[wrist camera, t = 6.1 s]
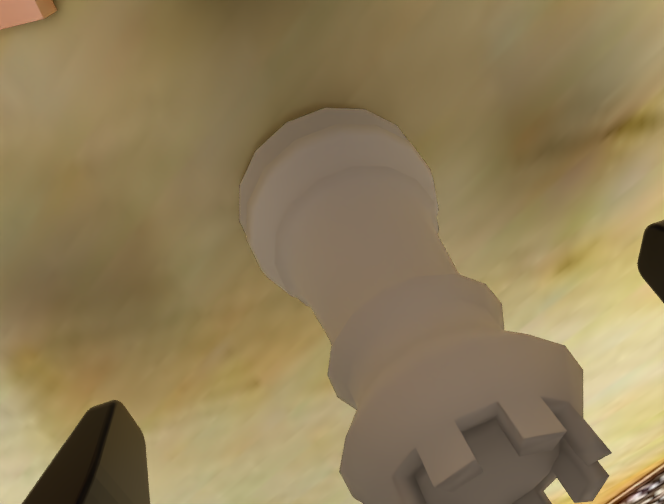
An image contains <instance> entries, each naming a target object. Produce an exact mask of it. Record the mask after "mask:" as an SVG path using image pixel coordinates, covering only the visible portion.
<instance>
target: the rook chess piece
mask: <svg viewBox="0 0 664 504" xmlns="http://www.w3.org/2000/svg"><path fill="white" fill-rule="evenodd" d="M438 210H439V208H438V202H437V197H436V191H435V186H434V180H433V176H432V173H431V170H430V168H429V166H428V165H427V164H426V162H425V161H424V160H423V158H422V157H421V156H420V154H419V153H418V152H417V150H416V149H415V148H414V146H413V145H412V144H411V142H410V141H408V139H407V138H406V137H405V135H404V134H403V133H402V131H401V130H400V129H399V127H398V126H397V125H395V124H393V123H391V122H389V121H387V120H385V119H383V118H381V117H379V116H377V115H375V114H373V113H371V112H369V111H367V110H365V109H348V108H323V109H320V110H318V111H315V112H312V113H310V114H307V115H305V116H302V117H299V118H297V119H294V120H291V121H289V122H286V123H285V124H284V125H283V126H282V127H281V128H280V129H278V130H277V131H276V132H275V133H274V134H273V135H272V136H271V137H270V138H269V139H268V140H267V141H266V142H264V143H263V144H262V145H261V146H260V147H259V148H258V149H257V150H256V151H255V153H254V155H253V157H252V160H251V162H250V164H249V166H248V168H247V171H246V173H245V175H244V177H243V179H242V181H241V184H240V186H239V221H240V224H241V226H242V228H243V230H244V232H245V234H246V236H247V242H248V244H249V246H250V248H251V250H252V253H253V255H254V257H255V259H256V261H257V263H258V265H259V267H260V269H261V270H262V272H263V273H264V274H265V275H266V276H267V277H268V278H269V279H270V280H272V281H273V282H274V283H275V284H277V285H278V286H279V287H280V288H282V289H283V290H284V291H285V292H287V293H288V294H289V295H291V296H292V297H296V298H298V299H299V300H300V301H301V302H303V303H304V304H305V305H306V306H309V307H311V309H312V311H313V312H314V314H315V316H316V317H317V319H318V321H319V323H320V324H321V326H322V328H323V329H324V331H325V333H326V334H327V336H328V338H329V340H330V342H331V345H332V346H331V353H330V360H329V368H328V377H329V379H330V381H331V384H332V386H333V388H334V390H335V392H336V395H337V397H338V398H340V399H341V400H343V401H344V402H346V403H347V404H349V405H350V406H352V407H353V408H355V409H356V410H357V411H356V413H355V416H354V418H353V421H352V423H351V425H350V428H349V430H348V433H347V435H346V438H345V443H344V449H343V455H342V460H341V466H340V471H339V472H340V474H341V475H342V477H343V479H344V481H345V483H346V485H347V487H348V489H349V491H350V492H351V494H352V496H353V497H354V498H355V499H357V500H359V501H360V502H362V503H363V504H551V502H550V501H549V499H548V497H547V496H546V494H545V493H544V490H545V489H546V488H547V487H548V486H549V485H550V484H551V483H552V482H553V481H554V480H555V479H556V478H558V480H559V481H560V483H561V484H562V486H563V487H564V488H565V490H566V491H567V493H568V494H569V496H570V497H571V499H572V500H573V501H574V503H578V502H589V501H593V500H594V498H595V497H596V495H597V494H598V492H599V491H600V489H601V488H602V486H603V485H604V483H605V482H606V480H607V478H608V477H609V475H608V474H607V472H606V471H605V470H604V469H603V467H602V466H601V465H600V464H599V462H598V460H600V459H602V458H603V457H605V456H607V455H609V454H611V451H610V450H609V449H608V448H607V447H606V445H605V444H604V443H603V442H602V440H601V439H600V438H599V437H598V436H597V434H596V433H595V432H594V431H593V430H592V428H591V427H590V426H589V425H588V424H587V422H586V421H585V420H584V419H583V369H582V368H581V366H580V365H579V364H578V362H577V361H576V360H575V358H574V357H573V356H572V354H571V353H570V352H569V350H568V349H567V348H566V346H564V345H561V344H558V343H554V342H551V341H548V340H545V339H541V338H538V337H535V336H531V335H528V334H522V333H516V332H510V331H504V321H503V312H502V304H501V302H500V301H499V300H498V299H497V297H496V296H495V295H494V294H493V293H492V291H491V290H490V289H489V288H488V286H487V285H486V284H484V283H481V282H478V281H476V280H473V279H470V278H467V277H464V276H461V275H460V274H459V273H458V271H457V269H456V268H455V266H454V264H453V262H452V260H451V258H450V257H449V255H448V253H447V251H446V249H445V247H444V245H443V244H442V242H441V240H440V238H439V236H438V230H439V226H438V221H437V215H438Z"/></svg>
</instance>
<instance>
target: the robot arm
mask: <svg viewBox="0 0 664 504" xmlns="http://www.w3.org/2000/svg"><path fill="white" fill-rule="evenodd" d="M637 264H638V270H639V272H640V274H641V276H642V277H643V279H644V280H645V281H646V282H647V284H648V285H649V286H650V287H651V288H652V290H653V291H654V292H655V293H656V294H657V296H658V297H659V298H660V299H661V300H662V302H663V303H664V220H662V221H659V222H656V223H653V224H651V225H649V226H648V227H647V228H646V229H645V231H644V235H643V239H642V244H641V248H640V253H639V257H638V263H637ZM22 504H150V496H149V483H148V470H147V458H146V445H145V440H144V436H143V433H142V431H141V429H140V428H139V426H138V425H137V424H136V422H135V421H134V419H133V418H132V416H131V415H130V414H129V412H128V411H127V409H126V408H125V406H124V405H123V404H122V403H121V402H120V401H118V400H112V401H109V402H106V403H103V404H100V405H97V406H94V407H92V408H90V409H89V410H88V411H87V412H86V413H85V415H84V416H83V418H82V419H81V420H80V422H79V423H78V425H77V426H76V428H75V429H74V430H73V432H72V433H71V435H70V436H69V437H68V439H67V440H66V442H65V443H64V445H63V446H62V447H61V449H60V450H59V452H58V453H57V454H56V456H55V457H54V459H53V460H52V462H51V463H50V464H49V466H48V467H47V469H46V470H45V472H44V473H43V474H42V476H41V477H40V479H39V480H38V481H37V483H36V484H35V486H34V487H33V489H32V490H31V491H30V493H29V494H28V496H27V497H26V499H25V500H24V501H23V503H22Z"/></svg>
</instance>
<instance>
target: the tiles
mask: <svg viewBox="0 0 664 504" xmlns="http://www.w3.org/2000/svg"><path fill="white" fill-rule="evenodd" d="M56 11H57V9H56V7H55V5H54V3H53V1H52V0H0V30H1V29H5V28H9V27H13V26H17V25H21V24H25V23H29V22H33V21H37V20H41V19H44V18H46V17H48V16H50V15H51V14H53V13H55V12H56Z"/></svg>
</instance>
